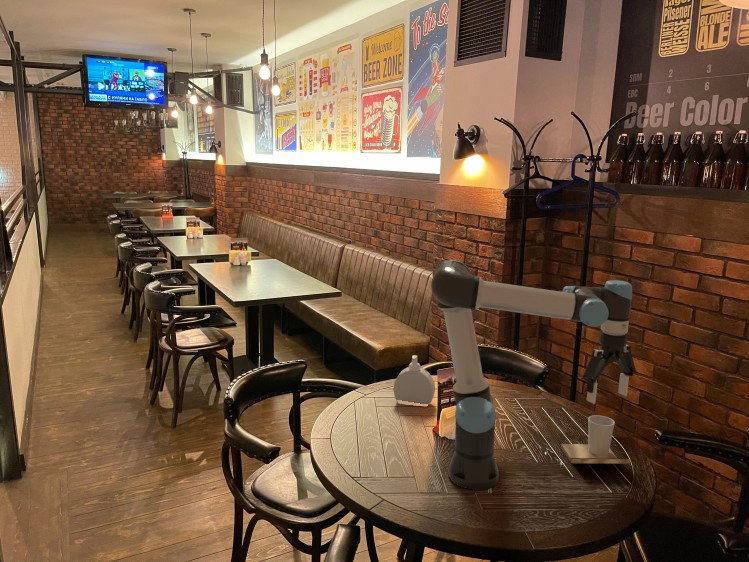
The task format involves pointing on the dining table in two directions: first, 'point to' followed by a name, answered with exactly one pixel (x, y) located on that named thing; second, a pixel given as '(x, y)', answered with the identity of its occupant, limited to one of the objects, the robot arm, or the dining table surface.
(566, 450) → the tan flat board
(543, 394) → the dining table surface
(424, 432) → the dining table surface
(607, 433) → the cup
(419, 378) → the soap bottle
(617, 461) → the plank
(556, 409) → the dining table surface
